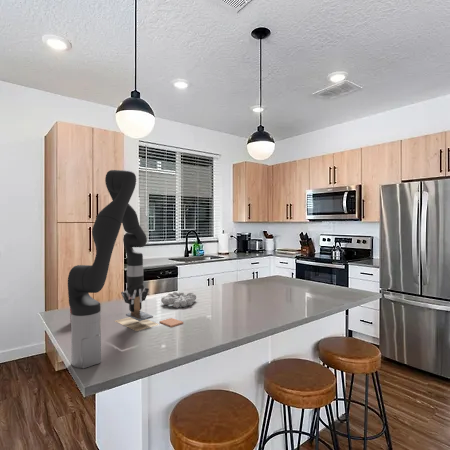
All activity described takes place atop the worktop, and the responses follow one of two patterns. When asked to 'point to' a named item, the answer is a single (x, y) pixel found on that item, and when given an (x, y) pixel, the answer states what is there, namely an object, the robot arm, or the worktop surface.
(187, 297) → the grey lumpy flat piece
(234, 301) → the worktop surface
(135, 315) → the wooden post with base
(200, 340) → the worktop surface
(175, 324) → the tile
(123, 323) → the board
